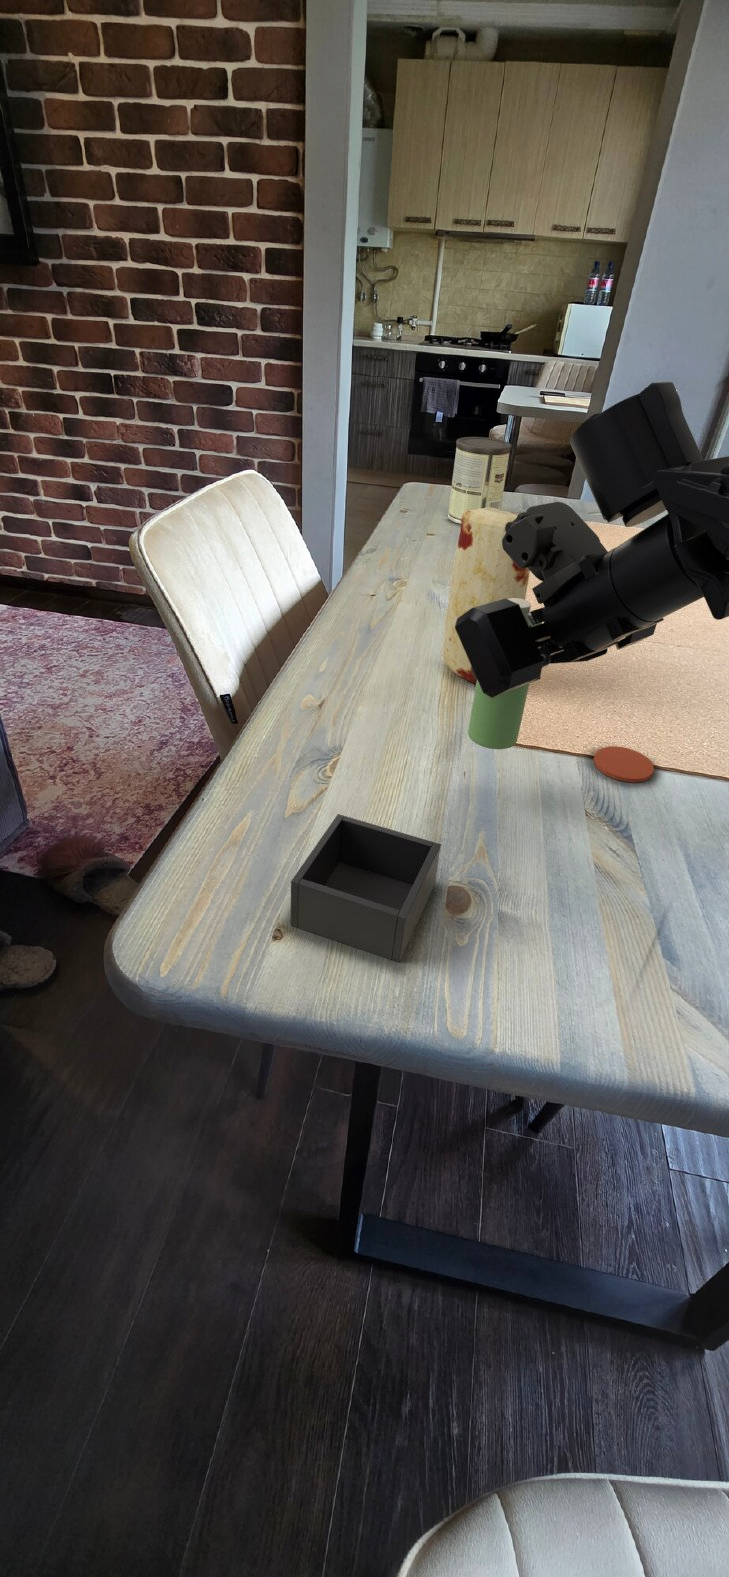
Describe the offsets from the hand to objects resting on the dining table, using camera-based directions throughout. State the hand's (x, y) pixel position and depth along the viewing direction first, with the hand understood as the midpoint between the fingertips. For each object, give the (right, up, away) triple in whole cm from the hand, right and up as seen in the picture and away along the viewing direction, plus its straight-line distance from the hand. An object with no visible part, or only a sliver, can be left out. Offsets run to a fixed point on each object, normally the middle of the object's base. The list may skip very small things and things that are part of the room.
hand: (493, 666), depth 63 cm
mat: (+16, -8, +14) cm, 22 cm away
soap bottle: (0, -6, +3) cm, 6 cm away
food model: (+2, +3, +28) cm, 28 cm away
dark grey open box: (-11, -20, -5) cm, 23 cm away
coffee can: (+10, +43, +83) cm, 94 cm away
